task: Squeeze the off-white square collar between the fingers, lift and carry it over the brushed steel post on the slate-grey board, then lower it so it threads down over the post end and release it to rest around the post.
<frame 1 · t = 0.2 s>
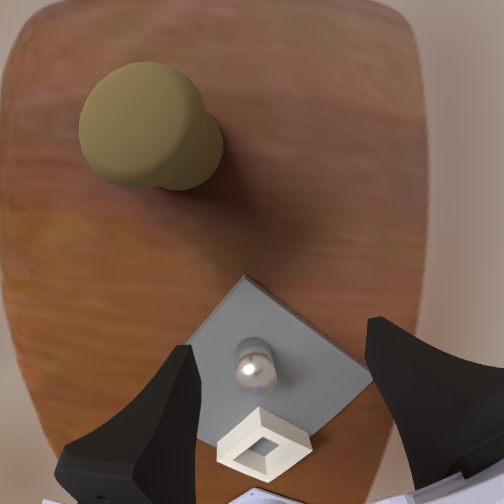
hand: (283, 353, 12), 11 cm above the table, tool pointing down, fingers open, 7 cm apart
collar: (262, 438, 25), point 1 cm above the table, touching board
board: (256, 388, 25), on the table
cork: (179, 146, 21), on the table
post: (252, 344, 24), resting on board
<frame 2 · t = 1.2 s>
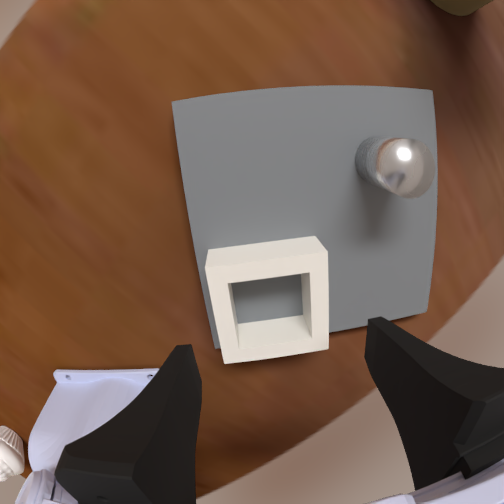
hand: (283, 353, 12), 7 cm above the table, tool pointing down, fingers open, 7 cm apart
muffin: (12, 433, 24), on the table
collar: (267, 290, 18), point 1 cm above the table, touching board
board: (321, 215, 18), on the table
post: (368, 158, 17), resting on board
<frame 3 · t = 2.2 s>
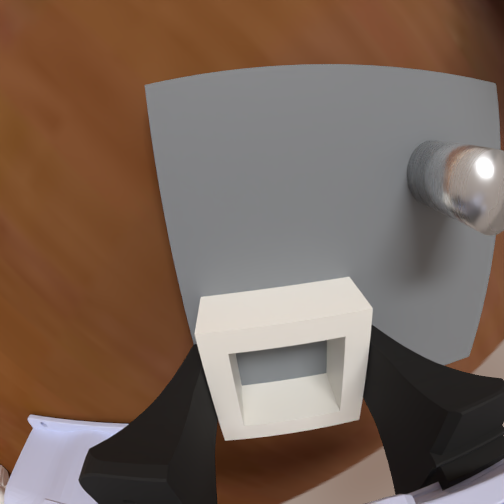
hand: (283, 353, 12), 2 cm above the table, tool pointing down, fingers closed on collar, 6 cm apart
collar: (281, 347, 13), point 1 cm above the table, touching board, gripper
board: (355, 246, 13), on the table
post: (418, 169, 12), resting on board
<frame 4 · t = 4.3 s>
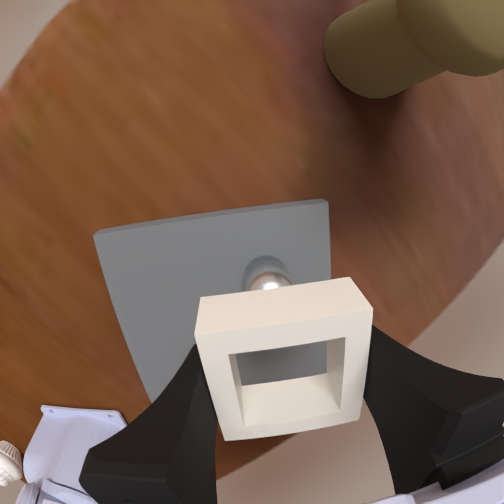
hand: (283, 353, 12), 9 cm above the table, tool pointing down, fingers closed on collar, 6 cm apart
muffin: (11, 446, 28), on the table
collar: (281, 347, 13), point 8 cm above the table, touching gripper
board: (223, 314, 22), on the table
cork: (368, 54, 16), on the table
post: (264, 267, 21), resting on board
when the fingers open (3 cm above the table, at t = 6.3 s): collar drops 2 cm, resting on board.
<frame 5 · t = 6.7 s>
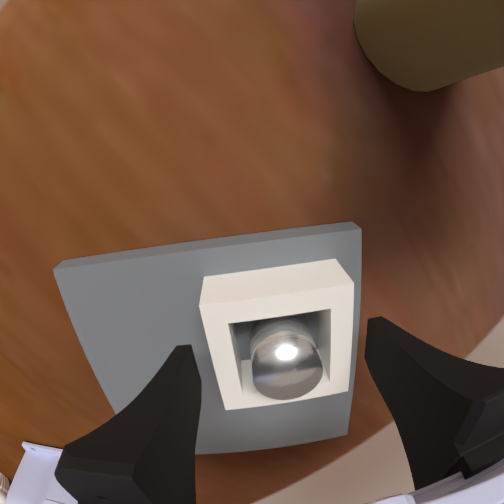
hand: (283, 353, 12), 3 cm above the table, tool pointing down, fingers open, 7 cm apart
collar: (276, 323, 15), point 1 cm above the table, touching board
board: (222, 363, 17), on the table
cork: (409, 34, 11), on the table
post: (273, 310, 16), resting on board
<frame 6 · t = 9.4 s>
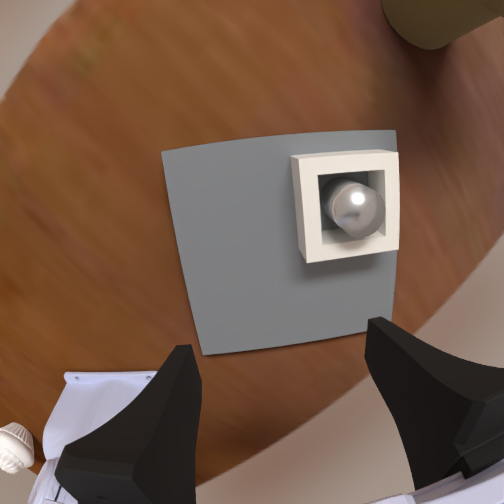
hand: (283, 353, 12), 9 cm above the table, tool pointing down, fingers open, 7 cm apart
muffin: (22, 429, 28), on the table
collar: (340, 198, 19), point 1 cm above the table, touching board
board: (291, 244, 21), on the table
cork: (417, 13, 16), on the table
post: (334, 194, 20), resting on board
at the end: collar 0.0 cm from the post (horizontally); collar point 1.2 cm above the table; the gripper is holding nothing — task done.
